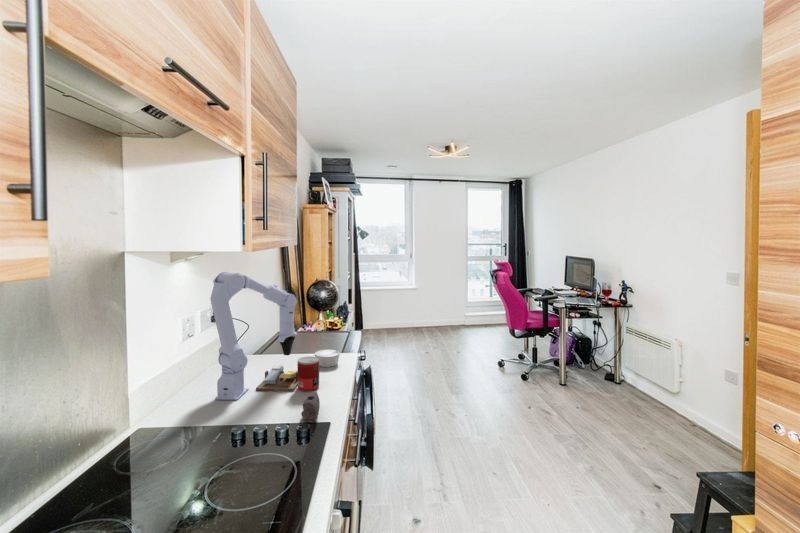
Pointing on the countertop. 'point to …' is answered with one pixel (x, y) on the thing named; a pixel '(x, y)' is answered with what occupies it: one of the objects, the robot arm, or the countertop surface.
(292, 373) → the yellow rectangular block
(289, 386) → the walnut board
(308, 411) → the perforated stone tool
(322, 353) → the ramekin
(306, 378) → the canned food
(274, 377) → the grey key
